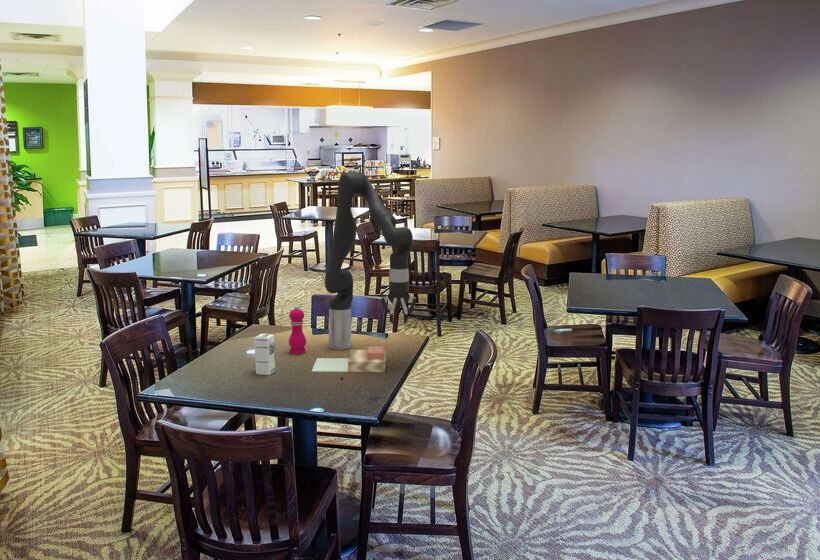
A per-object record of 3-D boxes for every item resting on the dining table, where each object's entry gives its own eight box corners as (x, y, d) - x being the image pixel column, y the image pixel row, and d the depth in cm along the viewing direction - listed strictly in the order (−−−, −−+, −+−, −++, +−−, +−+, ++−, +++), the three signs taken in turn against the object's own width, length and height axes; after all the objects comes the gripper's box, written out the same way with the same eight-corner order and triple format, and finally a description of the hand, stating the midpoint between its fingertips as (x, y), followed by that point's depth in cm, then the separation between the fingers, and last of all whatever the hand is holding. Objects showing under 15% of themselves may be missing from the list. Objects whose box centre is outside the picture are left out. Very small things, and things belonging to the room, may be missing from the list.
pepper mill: (308, 350, 289) (307, 303, 285) (304, 355, 282) (302, 307, 278) (291, 349, 290) (290, 303, 286) (286, 354, 282) (285, 307, 279)
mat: (311, 371, 261) (311, 370, 261) (317, 359, 277) (317, 358, 277) (347, 372, 261) (347, 371, 261) (350, 359, 277) (350, 358, 277)
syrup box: (270, 375, 257) (268, 337, 254) (255, 374, 258) (253, 336, 255) (276, 370, 262) (274, 333, 260) (261, 369, 263) (260, 332, 261)
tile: (367, 359, 264) (367, 353, 263) (368, 352, 273) (368, 346, 272) (382, 359, 264) (382, 353, 264) (383, 352, 273) (383, 346, 272)
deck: (348, 372, 261) (348, 362, 260) (351, 359, 277) (351, 349, 276) (385, 372, 261) (385, 362, 261) (386, 359, 277) (386, 350, 276)
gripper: (379, 281, 259) (379, 325, 262) (417, 281, 259) (417, 325, 262) (380, 277, 266) (380, 320, 270) (417, 277, 266) (417, 320, 270)
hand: (398, 323), depth 266 cm, fingers open, 4 cm apart
